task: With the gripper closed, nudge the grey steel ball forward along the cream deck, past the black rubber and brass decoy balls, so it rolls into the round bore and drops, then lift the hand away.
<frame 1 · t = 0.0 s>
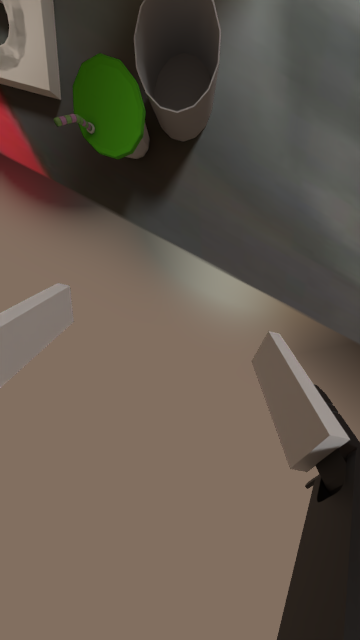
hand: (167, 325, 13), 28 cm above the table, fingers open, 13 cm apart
cup 2: (135, 140, 29), on the table
cup: (183, 102, 27), on the table
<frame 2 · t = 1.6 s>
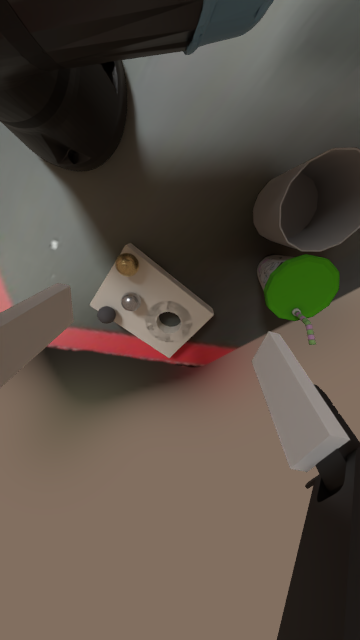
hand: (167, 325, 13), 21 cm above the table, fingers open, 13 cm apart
deck: (153, 304, 35), on the table
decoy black: (106, 314, 32), point 4 cm above the table, touching deck
cup 2: (270, 268, 31), on the table
steel ball: (131, 301, 31), point 4 cm above the table, touching deck
cup: (283, 209, 27), on the table
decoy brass: (127, 265, 28), point 4 cm above the table, touching deck
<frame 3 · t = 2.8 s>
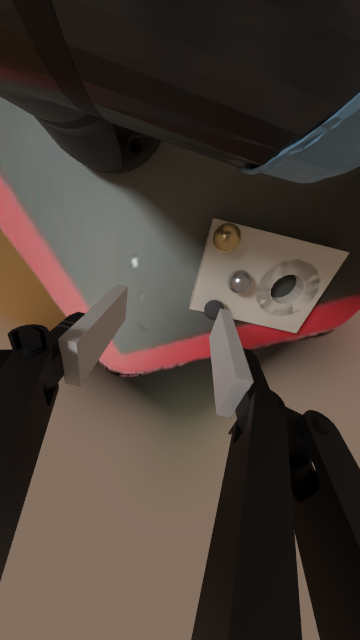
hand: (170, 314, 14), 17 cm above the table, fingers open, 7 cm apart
deck: (256, 278, 29), on the table
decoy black: (214, 309, 28), point 4 cm above the table, touching deck
steel ball: (239, 281, 25), point 4 cm above the table, touching deck
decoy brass: (226, 238, 23), point 4 cm above the table, touching deck
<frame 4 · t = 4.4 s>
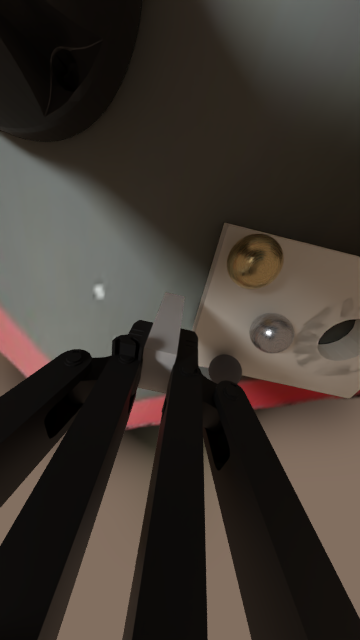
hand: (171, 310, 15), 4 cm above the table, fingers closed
deck: (290, 317, 18), on the table
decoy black: (225, 370, 17), point 4 cm above the table, touching deck
steel ball: (270, 333, 15), point 4 cm above the table, touching deck
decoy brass: (253, 262, 12), point 4 cm above the table, touching deck
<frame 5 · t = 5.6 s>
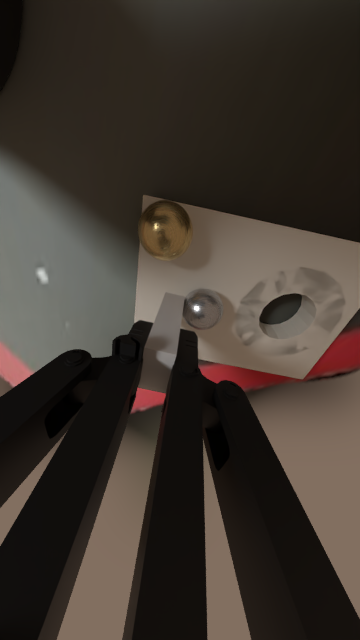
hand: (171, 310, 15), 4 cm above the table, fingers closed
deck: (236, 296, 18), on the table
steel ball: (202, 309, 14), point 4 cm above the table, touching gripper
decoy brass: (165, 232, 12), point 4 cm above the table, touching deck
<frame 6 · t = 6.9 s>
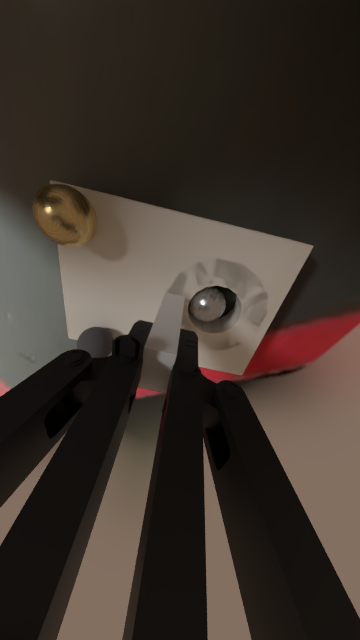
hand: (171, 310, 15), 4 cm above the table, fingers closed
deck: (171, 289, 18), on the table
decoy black: (96, 343, 17), point 4 cm above the table, touching deck
steel ball: (207, 304, 17), point 2 cm above the table, tilted 97°
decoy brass: (67, 217, 12), point 4 cm above the table, touching deck
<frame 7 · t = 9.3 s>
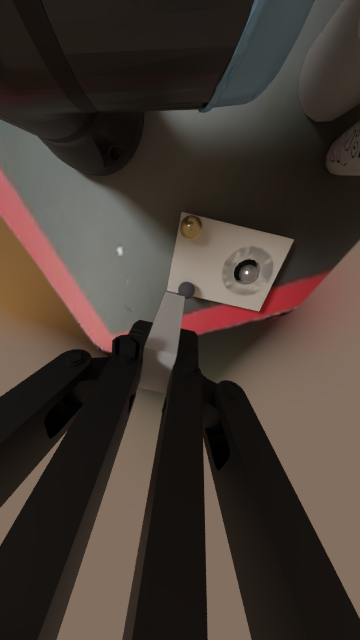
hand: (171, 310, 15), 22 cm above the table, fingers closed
deck: (222, 263, 34), on the table
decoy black: (186, 290, 33), point 4 cm above the table, touching deck
cup 2: (342, 154, 26), on the table
steel ball: (248, 273, 33), point 2 cm above the table, tilted 54°
cup: (335, 73, 22), on the table
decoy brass: (191, 228, 28), point 4 cm above the table, touching deck
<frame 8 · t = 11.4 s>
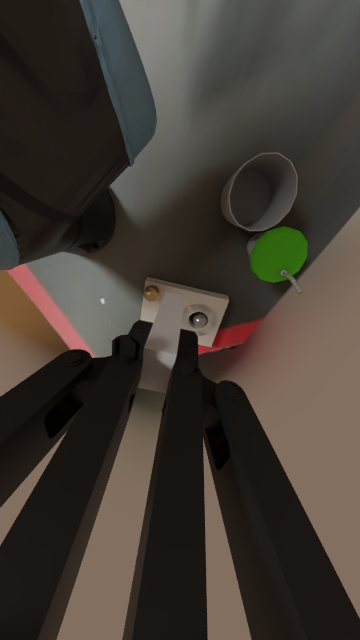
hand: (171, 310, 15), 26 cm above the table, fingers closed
deck: (181, 311, 44), on the table
cup 2: (258, 245, 36), on the table
steel ball: (199, 320, 43), point 2 cm above the table, tilted 58°
cup: (244, 199, 33), on the table
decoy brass: (152, 293, 38), point 4 cm above the table, touching deck
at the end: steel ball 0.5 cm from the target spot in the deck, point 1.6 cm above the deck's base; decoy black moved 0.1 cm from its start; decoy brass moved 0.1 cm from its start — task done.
